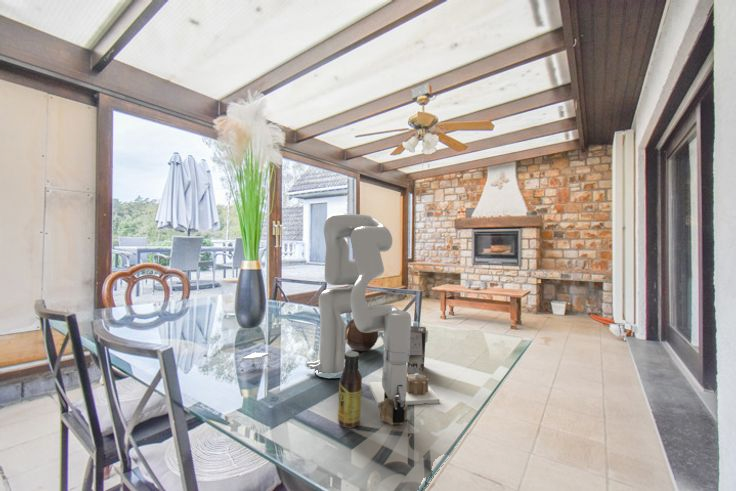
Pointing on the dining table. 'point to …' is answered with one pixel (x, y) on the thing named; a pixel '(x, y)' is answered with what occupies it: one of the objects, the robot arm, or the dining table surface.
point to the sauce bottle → (350, 392)
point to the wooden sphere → (359, 338)
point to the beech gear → (389, 411)
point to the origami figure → (255, 356)
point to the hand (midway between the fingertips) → (393, 412)
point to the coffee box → (417, 350)
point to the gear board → (409, 391)
